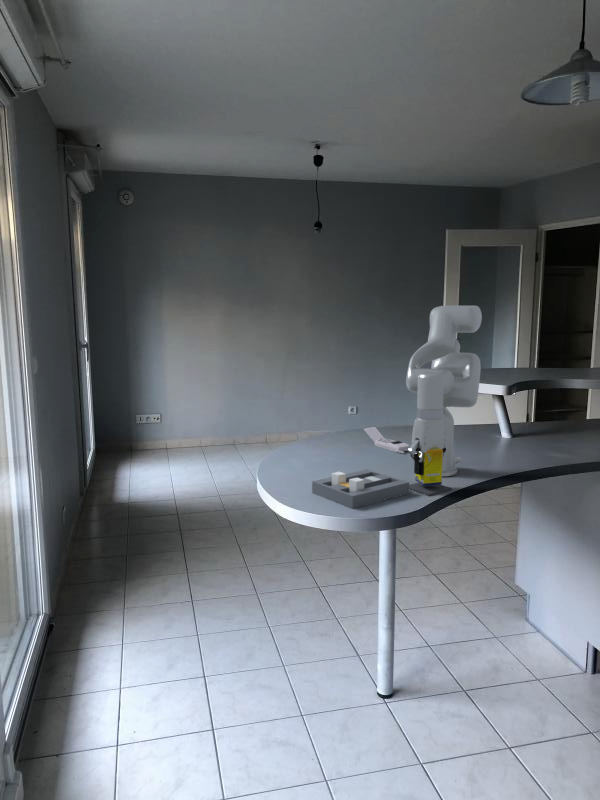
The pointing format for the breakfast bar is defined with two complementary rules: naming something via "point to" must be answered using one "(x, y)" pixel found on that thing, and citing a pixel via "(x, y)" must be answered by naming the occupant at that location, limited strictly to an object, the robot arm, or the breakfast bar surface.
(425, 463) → the supplement box
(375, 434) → the mobile phone
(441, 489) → the mat
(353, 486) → the switch
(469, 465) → the breakfast bar surface
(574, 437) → the breakfast bar surface
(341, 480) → the switch
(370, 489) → the grey compartment tray
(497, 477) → the breakfast bar surface
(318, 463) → the breakfast bar surface
